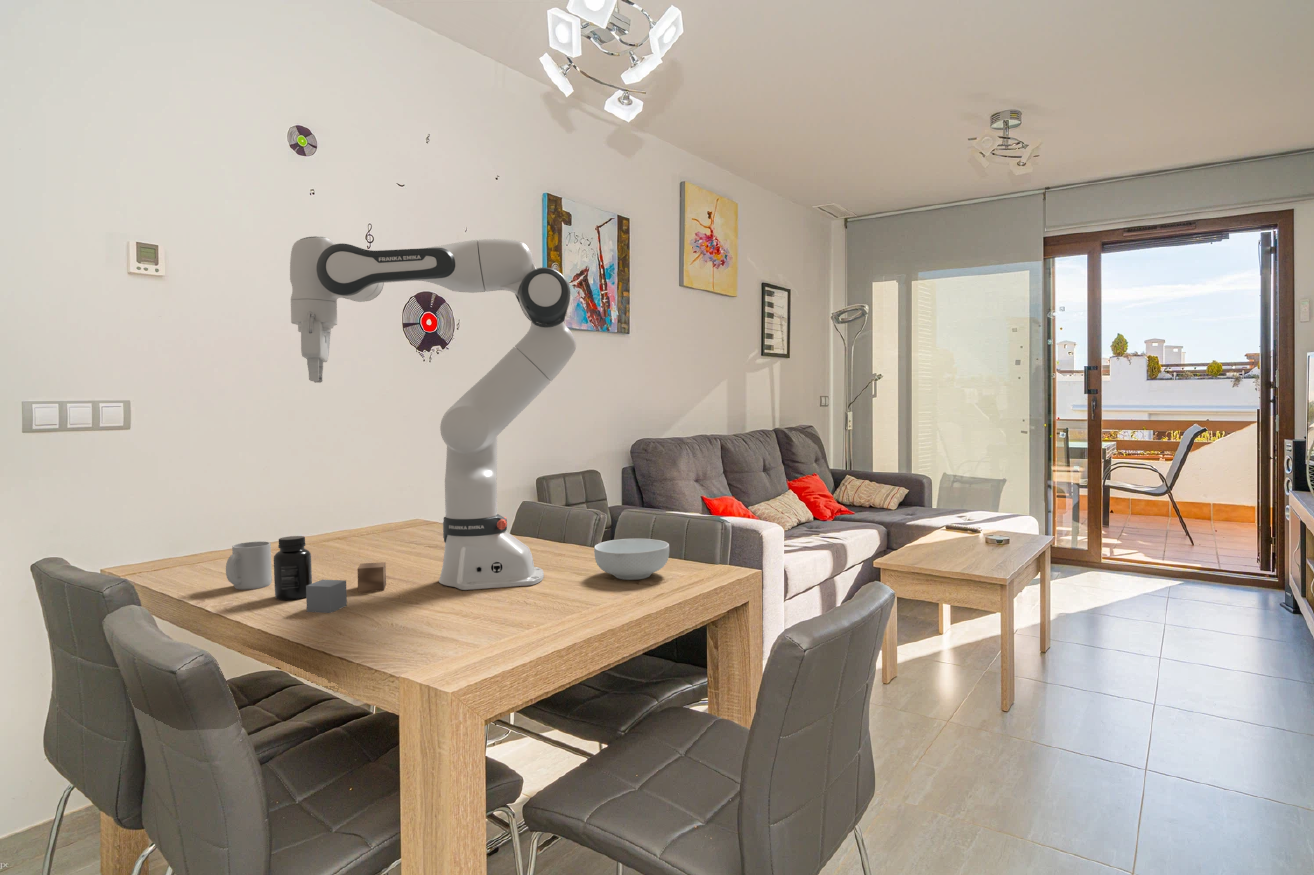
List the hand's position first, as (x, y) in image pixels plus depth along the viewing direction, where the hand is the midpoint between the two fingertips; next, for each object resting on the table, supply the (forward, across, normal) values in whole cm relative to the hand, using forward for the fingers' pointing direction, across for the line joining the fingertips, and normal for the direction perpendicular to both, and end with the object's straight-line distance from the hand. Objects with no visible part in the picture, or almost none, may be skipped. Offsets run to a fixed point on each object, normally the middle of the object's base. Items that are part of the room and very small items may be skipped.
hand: (316, 381), depth 156 cm
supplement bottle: (+44, -7, +5) cm, 45 cm away
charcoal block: (+44, -20, -2) cm, 48 cm away
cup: (+44, +5, +15) cm, 46 cm away
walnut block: (+44, -6, -10) cm, 45 cm away
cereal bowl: (+44, -16, -65) cm, 80 cm away
